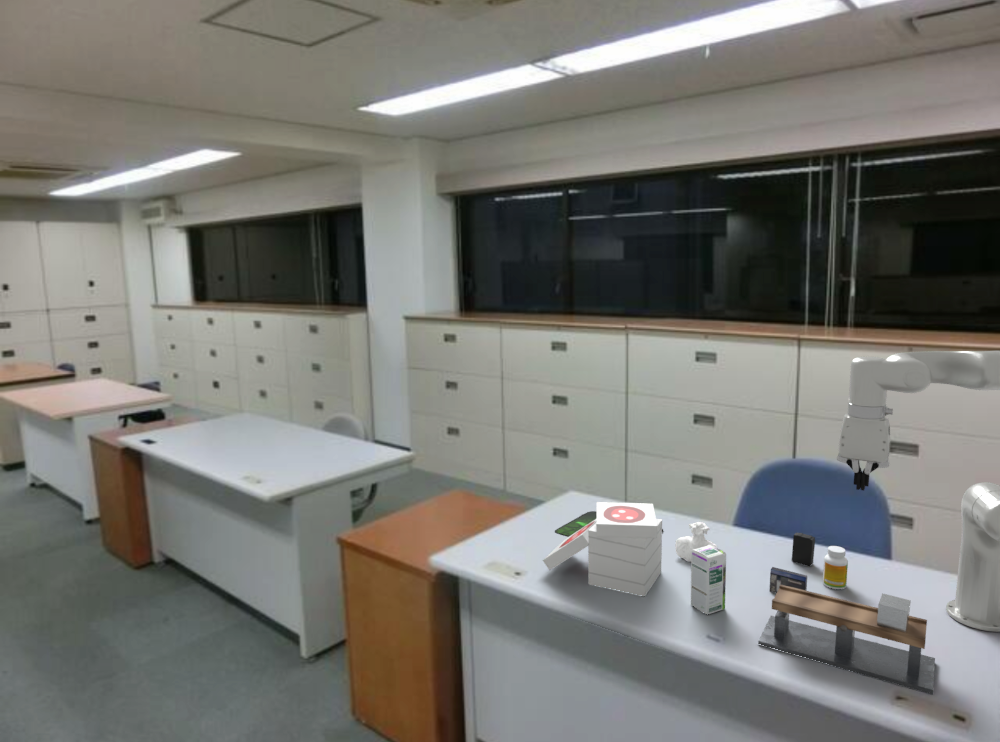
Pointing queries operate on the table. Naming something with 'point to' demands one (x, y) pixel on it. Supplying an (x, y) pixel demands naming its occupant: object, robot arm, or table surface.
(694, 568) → the syrup box
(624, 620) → the table surface
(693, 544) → the white lumpy figure
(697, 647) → the table surface
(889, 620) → the steel cube
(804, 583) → the mini dv tape
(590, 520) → the mouse mat
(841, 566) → the supplement bottle
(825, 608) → the beam
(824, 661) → the pivot stand
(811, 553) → the ink cartridge
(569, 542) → the pizza boxes
